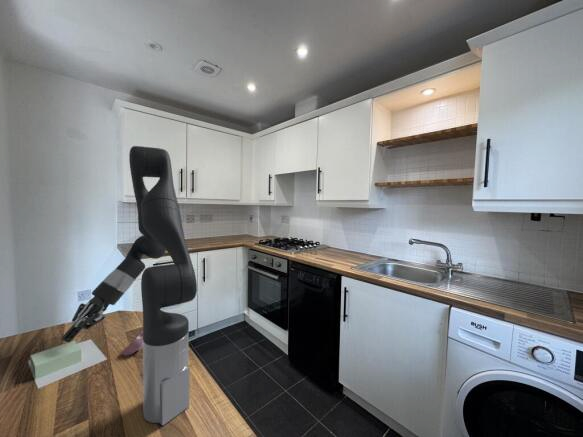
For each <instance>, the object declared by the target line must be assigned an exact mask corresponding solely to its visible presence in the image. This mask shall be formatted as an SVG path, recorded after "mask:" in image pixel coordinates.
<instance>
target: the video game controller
mask: <svg viewBox="0 0 583 437" xmlns="http://www.w3.org/2000/svg"><path fill="white" fill-rule="evenodd" d="M140 350H143V330H142V331H140V332H139V334H138V335H137V336H136V337H135V339H133V341H132V342H131V343H130V344H129V345H128V346H126V347H125V348H124V349H123V350H122V355H123V356H131V355H132V354H134V353H135V352H139V351H140Z"/></svg>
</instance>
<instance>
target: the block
mask: <svg viewBox="0 0 583 437" xmlns="http://www.w3.org/2000/svg"><path fill="white" fill-rule="evenodd" d="M29 358H30V359H29V361H30V366H29V368H30V367H31V368H30V370H32V371H31V374H32V373H33V374H32V376H33V375H34V377H35V379H38V378H41V377H43V376H46V375H48V374H51V373H53V372H56V371H58V370H61V369H63V368H66V367H68V366H71V365H73V364H76V363H78V362H81V348H80V347H79V346H78V343H77V341H76V340H72V341H71V342H66V343H63V344H60V345H57V346H54V347H51V348H48V349H46V350H42V351H39V352H36V353H33V354H30V357H29ZM34 377H33V378H34ZM35 379H34V380H35Z"/></svg>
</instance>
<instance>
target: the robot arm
mask: <svg viewBox="0 0 583 437" xmlns="http://www.w3.org/2000/svg"><path fill="white" fill-rule="evenodd" d="M128 156H129V159H128V160H129V168H130V169H129V170H130V177H131V183H132V189H133V193H134V198H135V203H136V208H137V220H138V221H137V224H138V231H139V232H140V234H142V235H141V236H139V237H137V239H135V241H134V242H133V244H132V245H131V247H130V249H129V251H128V252H127V255H125V258H124V259H123V260H122V262H120V263H119V265H117V267H116V268H114V270H112V271H111V272H110V273H109V274H108V275H107V276H106V277H104V279H103V280H102V281H101V282H100V283H99V284H98V285H97V287H95V288H94V289H93V291H91V295H92V296H93V297H92V298H91V299H90V300H88V301H87V303H84V302H83V303H80V304H79V305H78V307H77V309H76V311H75V314H74V315H73V317H72V319H71V322H72V324H71V327H69V329H68V330H67V331H66V332H65V333H64V334H63V335H62V336H61V340H63V342H66V343H68V342H71V341H74V340H73V339H74V338H75V337H76V336H77V335H79V333H80V332H81V331H83V330H86V331H87V330H89V329H90V328H93V327H94V326H95V325H97V324H99V323H100V322H102V321H104V319H105V318H106V316H105V315H104V312H106V311H107V309H108V307H109V306H110V305H112V306H115V305H116V304H117V302H118V301H119V300H120V299H121V298H122V297H123V296H124V295H125V293H126V292H127V291H128V290H129V289H130V288H131V287H132V284H134V282H135V281H136V280H137V279H138V277H139V276H140V275H141V280H140V290H141V291H140V292H141V302H142V323H143V324H142V331H143V347H142V405H143V406H142V411H143V412H142V415H143V418H144V419H145V420H146V421H147V422H149V423H153V424H160V425H161V426H165V424H167V423H168V422H170V421H171V420H174V418H175V417H177V416H179V415H180V414H181V413H183V412H184V411H185V410H186V409H188V408H189V407H190V389H191V388H190V385H191V384H190V383H191V382H190V381H191V380H190V379H191V378H190V377H191V376H190V375H191V373H190V371H191V369H190V367H189V331H190V330H189V328H190V327H189V326H190V325H189V320H188V318H187V316H186V315H184V314H181V313H175V312H166V311H163V310H161V309H163V308H168V307H172V306H176V305H182V304H186V303H189V302H192V301H193V300H195V298H196V296H197V292H198V291H197V290H198V288H197V287H198V285H197V277H196V276H197V275H196V272H195V269H194V265H193V263H192V262H193V261H192V259H191V256H190V251H189V250H188V245H187V242H186V238H185V232H184V227H183V221H182V215H181V211H180V205H179V202H178V198H177V193H176V191H175V190H176V189H175V186H174V178H173V170H172V161H171V156H170V154H169V152H168V151H167V150H166V149H163V148H160V147H151V146H149V147H148V146H141V145H140V146H139V145H138V146H137V145H133V146H131V148H130V150H129V155H128ZM144 178H158V180H157V182H156V184H155V185H154V186H152V188H151V189H150V190H148V189H147V187H146V185H145V181H144ZM166 252H167V253H168V255H169V256H170V258H171V260H172V262H173V263H172V264H171V263H169V264H163V265H157V266H156V265H155V266H148V267H146V265H145V263H144V261H142V258H143V256H146V257H148V258H150V259H152V260H153V259H154V260H155V259H156V260H157V259H160V258H162V257H163V256H164V255H165V254H166Z"/></svg>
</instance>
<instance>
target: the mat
mask: <svg viewBox="0 0 583 437" xmlns="http://www.w3.org/2000/svg"><path fill="white" fill-rule="evenodd" d="M77 344H78V346H79V347H80V348H81V362H78V363H76V364H73V365H71V366H68V367H66V368H63V369H61V370H58V371H56V372H53V373H51V374H48V375H46V376H43V377H41V378H38V379H35V377H34V375H33V373H32V370H31V367H30V360H28V361H27V362H28V365H29V369H30V370H31V371H30V372H31V374H32V377H33V379H34V382H35V384H36V387H37V389H41V388H43V387H46V386H47V385H50V384H53V383H54V382H57V381H59V380H62V379H64V378H67V377H69V376H71V375H74V374H76V373H78V372H80V371H83V370H85V369H88V368H90V367H92V366H95V365H97V364H100V363H102V362H105V361H107V360H108V358H107V356H106V355H104V353H103V352H102V351H101V350H100V349H99V347H98V346H97V345H96V344H95V342H94V341H93V340H92V339H87V340H84V341H81V342H78V343H77Z"/></svg>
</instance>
